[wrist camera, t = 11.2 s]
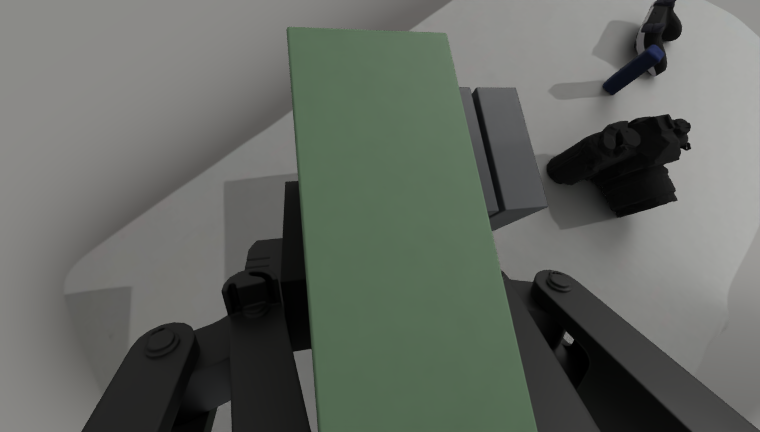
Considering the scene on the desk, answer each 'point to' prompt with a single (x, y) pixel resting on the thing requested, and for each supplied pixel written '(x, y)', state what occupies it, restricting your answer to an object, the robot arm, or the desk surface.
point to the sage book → (398, 241)
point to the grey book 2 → (508, 155)
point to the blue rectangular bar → (634, 69)
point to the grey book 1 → (479, 150)
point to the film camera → (627, 162)
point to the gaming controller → (658, 31)
